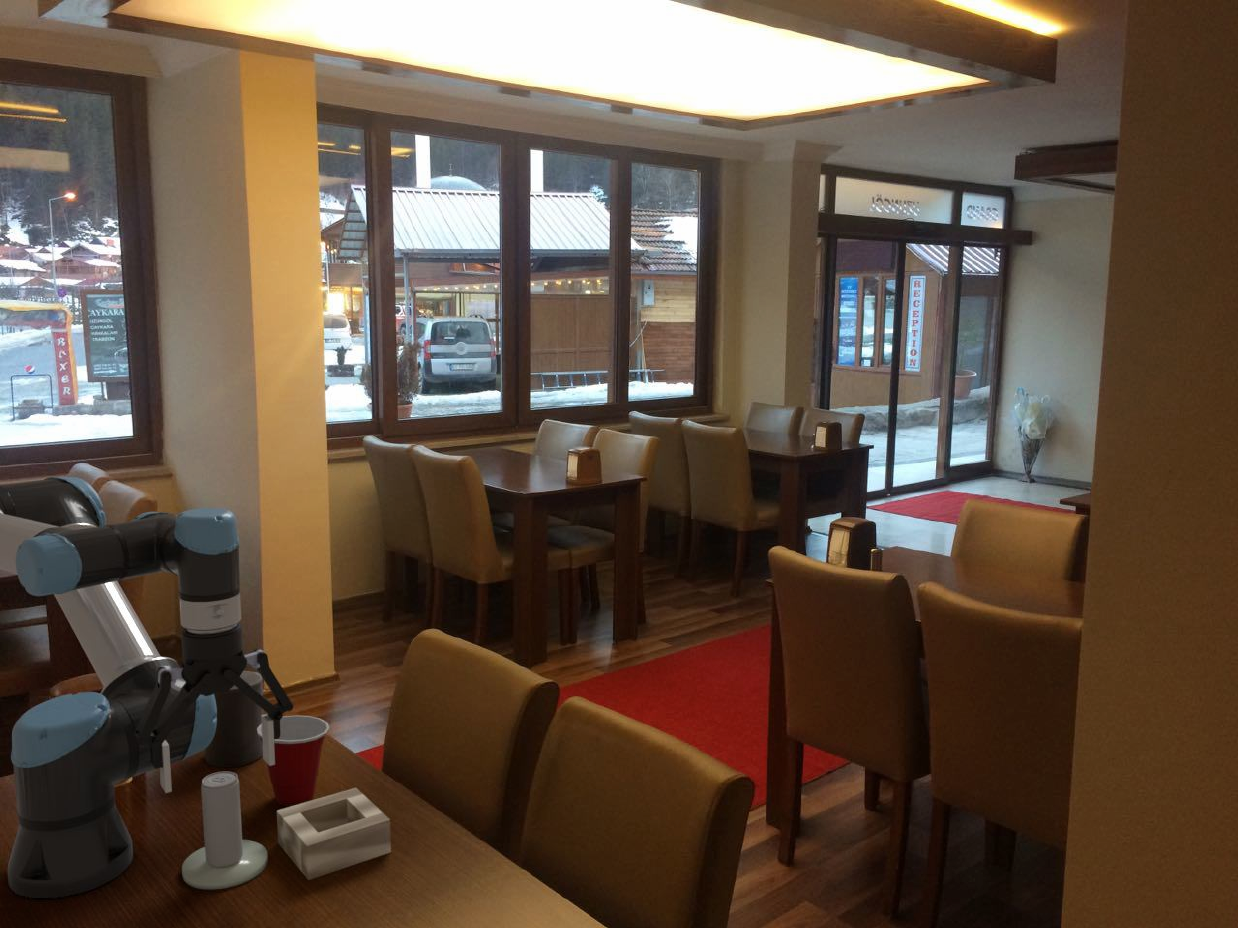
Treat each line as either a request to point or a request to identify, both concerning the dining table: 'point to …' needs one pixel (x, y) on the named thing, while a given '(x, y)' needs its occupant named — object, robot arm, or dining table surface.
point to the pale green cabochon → (218, 878)
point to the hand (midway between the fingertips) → (219, 774)
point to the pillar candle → (236, 726)
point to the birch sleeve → (333, 832)
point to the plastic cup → (296, 758)
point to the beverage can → (222, 819)
